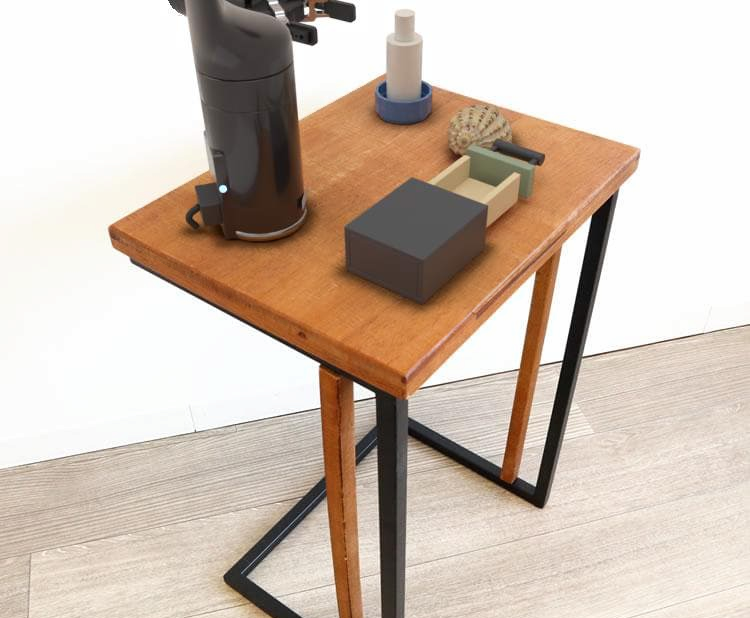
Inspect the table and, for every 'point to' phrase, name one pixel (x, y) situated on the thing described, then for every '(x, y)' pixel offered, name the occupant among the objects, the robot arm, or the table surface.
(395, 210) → the cabinet
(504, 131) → the seashell
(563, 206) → the table surface
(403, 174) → the table surface
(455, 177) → the drawer
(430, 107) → the bowl
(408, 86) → the bottle
